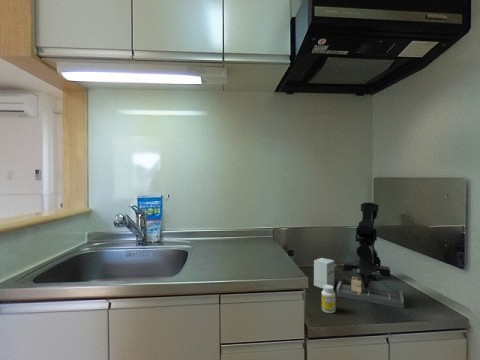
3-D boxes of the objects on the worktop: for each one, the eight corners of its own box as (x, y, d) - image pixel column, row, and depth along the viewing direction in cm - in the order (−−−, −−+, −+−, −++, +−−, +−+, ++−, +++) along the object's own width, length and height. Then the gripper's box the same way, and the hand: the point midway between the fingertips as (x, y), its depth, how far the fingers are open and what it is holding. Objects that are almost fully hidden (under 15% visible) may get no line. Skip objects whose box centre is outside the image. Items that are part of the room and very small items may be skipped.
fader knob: (352, 286, 124) (352, 275, 124) (361, 288, 122) (361, 277, 122) (351, 291, 119) (351, 279, 119) (361, 292, 117) (361, 281, 117)
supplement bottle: (335, 314, 103) (334, 290, 103) (320, 312, 106) (320, 288, 105) (335, 308, 108) (335, 284, 108) (322, 305, 111) (322, 283, 110)
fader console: (339, 287, 129) (339, 280, 129) (401, 298, 116) (401, 290, 116) (336, 295, 120) (336, 288, 120) (403, 308, 108) (403, 299, 108)
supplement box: (327, 290, 126) (326, 263, 126) (313, 285, 131) (313, 260, 131) (335, 285, 131) (334, 260, 131) (321, 281, 136) (321, 257, 136)
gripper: (341, 255, 116) (342, 290, 116) (390, 261, 107) (391, 299, 107) (344, 249, 125) (344, 281, 126) (389, 253, 117) (390, 289, 117)
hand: (366, 287), depth 119 cm, fingers closed
